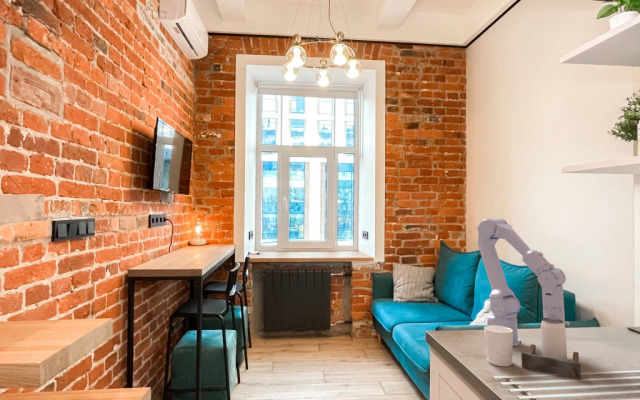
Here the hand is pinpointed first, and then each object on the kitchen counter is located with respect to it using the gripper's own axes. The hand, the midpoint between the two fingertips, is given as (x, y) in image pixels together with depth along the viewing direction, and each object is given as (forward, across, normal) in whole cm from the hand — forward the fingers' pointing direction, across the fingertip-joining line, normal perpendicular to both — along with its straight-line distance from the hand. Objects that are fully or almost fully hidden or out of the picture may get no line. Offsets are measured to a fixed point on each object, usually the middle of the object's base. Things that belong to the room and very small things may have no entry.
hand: (555, 350), depth 114 cm
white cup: (+2, -16, +13) cm, 21 cm away
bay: (+2, -10, 0) cm, 10 cm away
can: (+2, -4, 0) cm, 5 cm away
